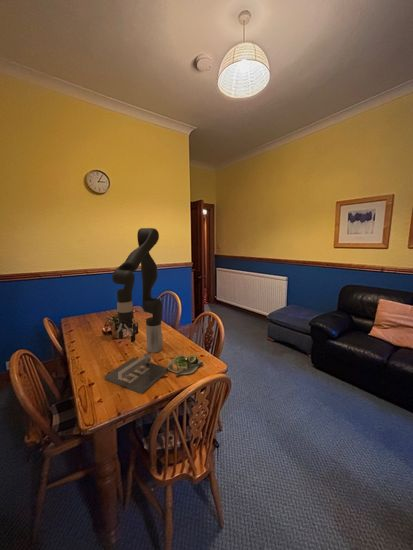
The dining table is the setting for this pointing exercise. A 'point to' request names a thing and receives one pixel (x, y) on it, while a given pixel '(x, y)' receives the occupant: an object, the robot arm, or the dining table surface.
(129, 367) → the cable arm
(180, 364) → the salad plate
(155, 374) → the grey flat slab
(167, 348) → the dining table surface
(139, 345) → the dining table surface
